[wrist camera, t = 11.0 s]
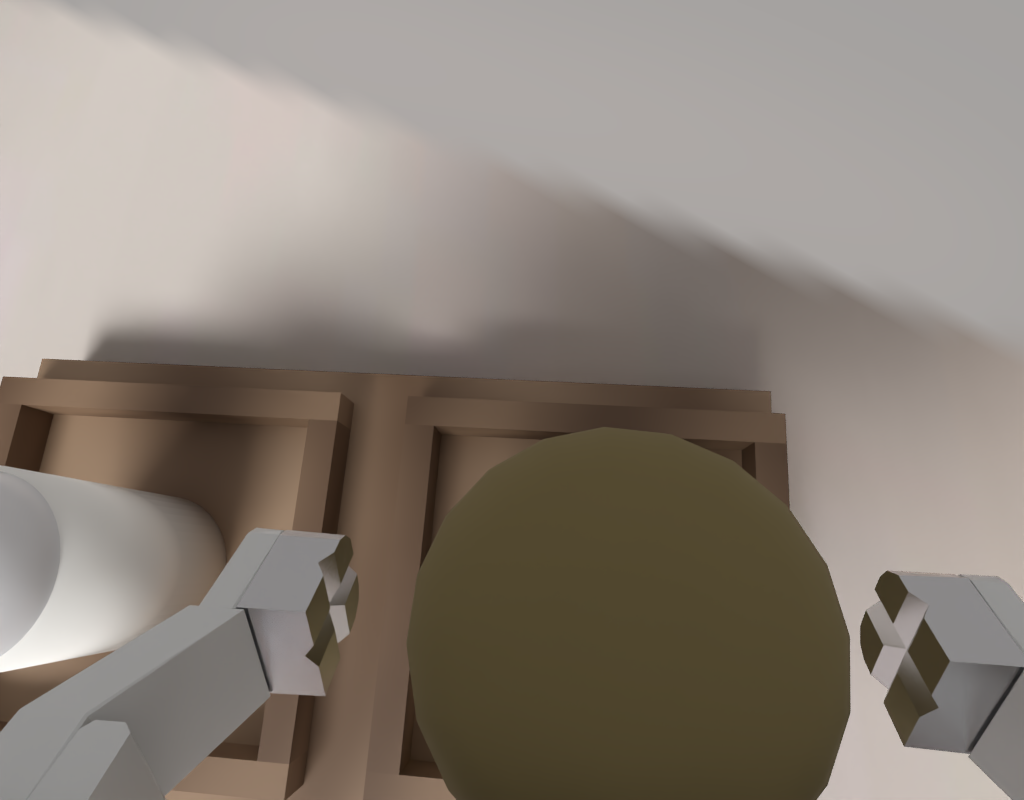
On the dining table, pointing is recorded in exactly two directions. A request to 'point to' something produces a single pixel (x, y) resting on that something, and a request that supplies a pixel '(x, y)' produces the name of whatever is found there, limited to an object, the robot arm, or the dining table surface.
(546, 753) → the olive green stopper
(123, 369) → the cruet board
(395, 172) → the dining table surface
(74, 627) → the salt cellar
